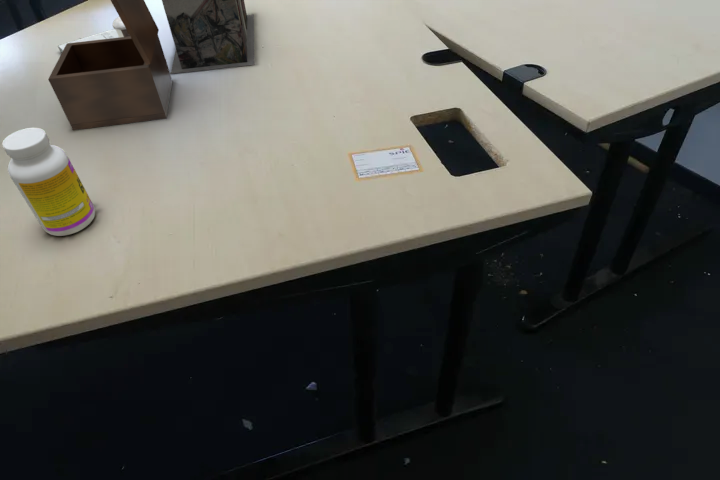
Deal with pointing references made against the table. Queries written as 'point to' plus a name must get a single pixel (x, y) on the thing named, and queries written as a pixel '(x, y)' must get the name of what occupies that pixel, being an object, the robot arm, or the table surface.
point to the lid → (138, 25)
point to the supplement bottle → (48, 182)
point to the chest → (111, 83)
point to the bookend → (210, 34)
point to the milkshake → (120, 28)
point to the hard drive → (93, 38)
